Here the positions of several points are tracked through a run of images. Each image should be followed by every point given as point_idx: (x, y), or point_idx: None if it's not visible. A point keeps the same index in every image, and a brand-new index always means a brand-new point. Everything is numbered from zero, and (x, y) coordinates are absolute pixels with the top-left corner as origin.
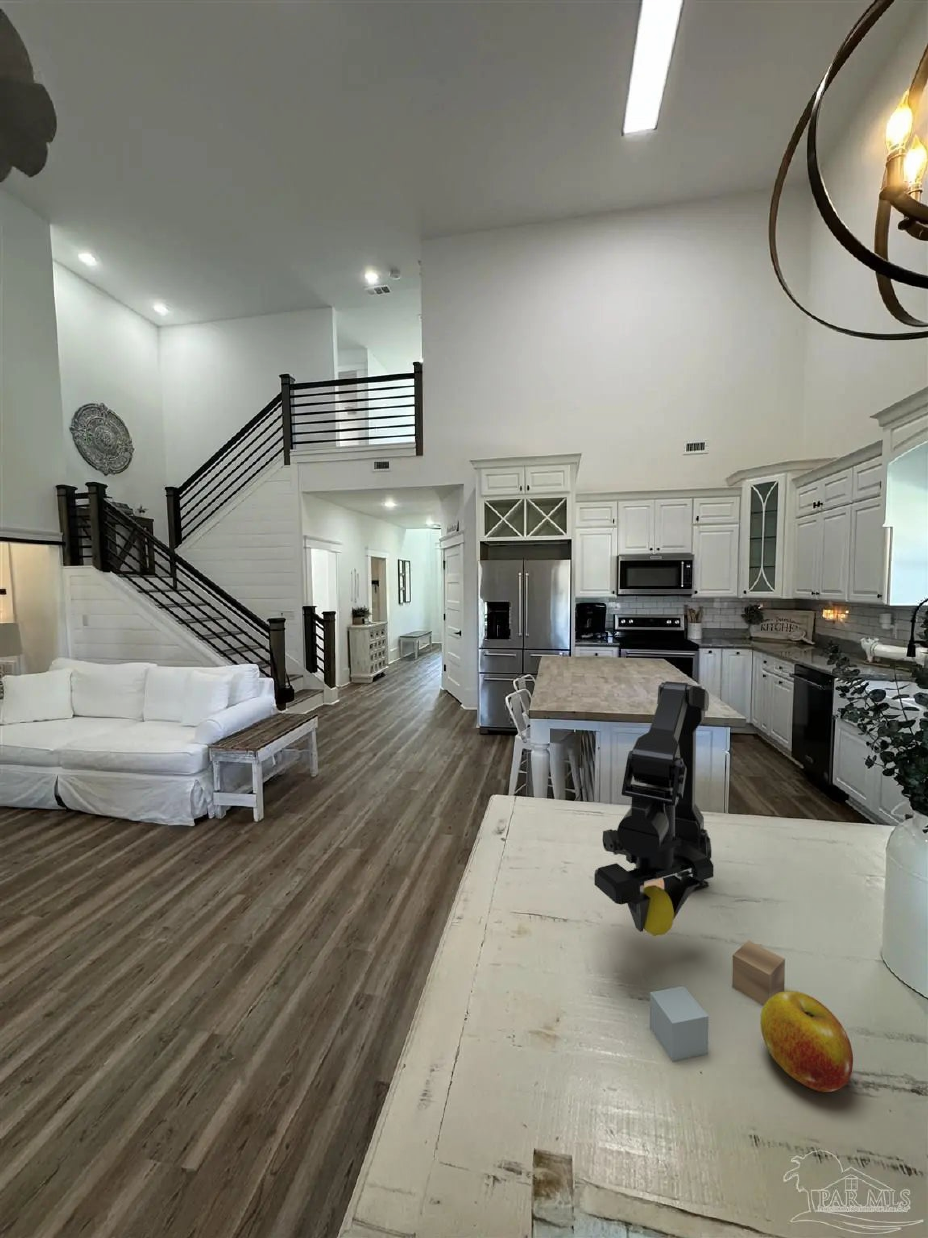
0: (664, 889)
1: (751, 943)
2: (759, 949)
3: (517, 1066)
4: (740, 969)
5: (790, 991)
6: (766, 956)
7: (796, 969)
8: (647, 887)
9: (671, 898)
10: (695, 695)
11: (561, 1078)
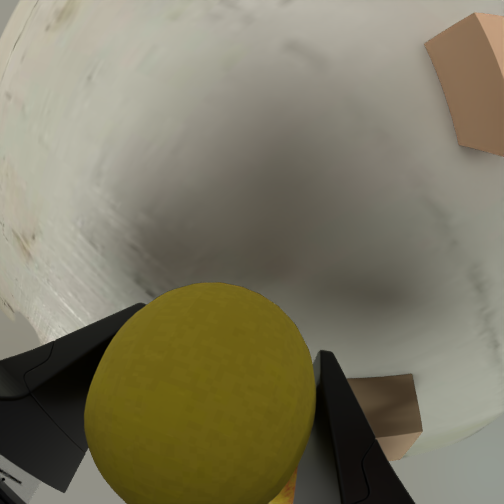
0: (334, 479)
1: (413, 436)
2: (401, 445)
3: (6, 256)
4: None
5: (271, 502)
6: (387, 453)
7: (458, 395)
8: (120, 490)
9: (312, 473)
10: None
11: (31, 292)
